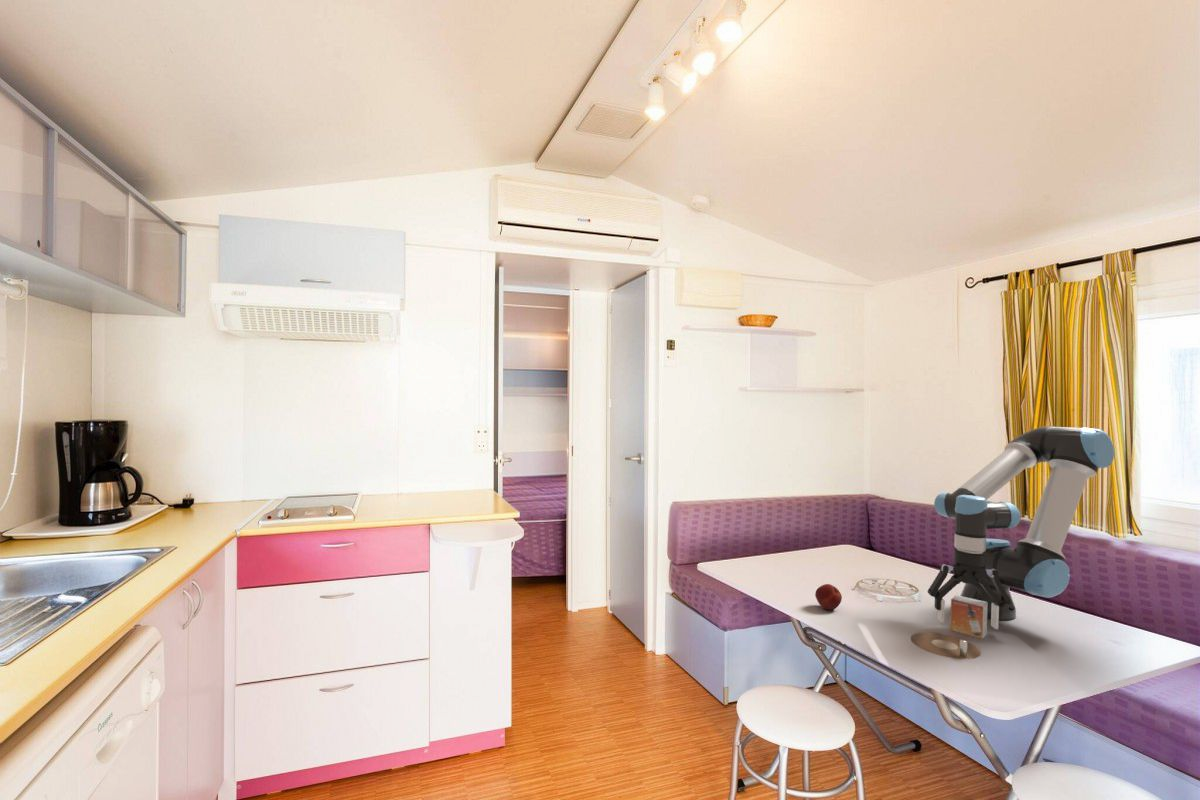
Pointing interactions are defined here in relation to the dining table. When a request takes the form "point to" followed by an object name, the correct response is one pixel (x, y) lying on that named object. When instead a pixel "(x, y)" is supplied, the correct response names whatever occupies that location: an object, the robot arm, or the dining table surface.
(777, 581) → the dining table surface
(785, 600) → the dining table surface
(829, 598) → the apple
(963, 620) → the small box
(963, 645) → the stop pin
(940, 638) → the flange base
